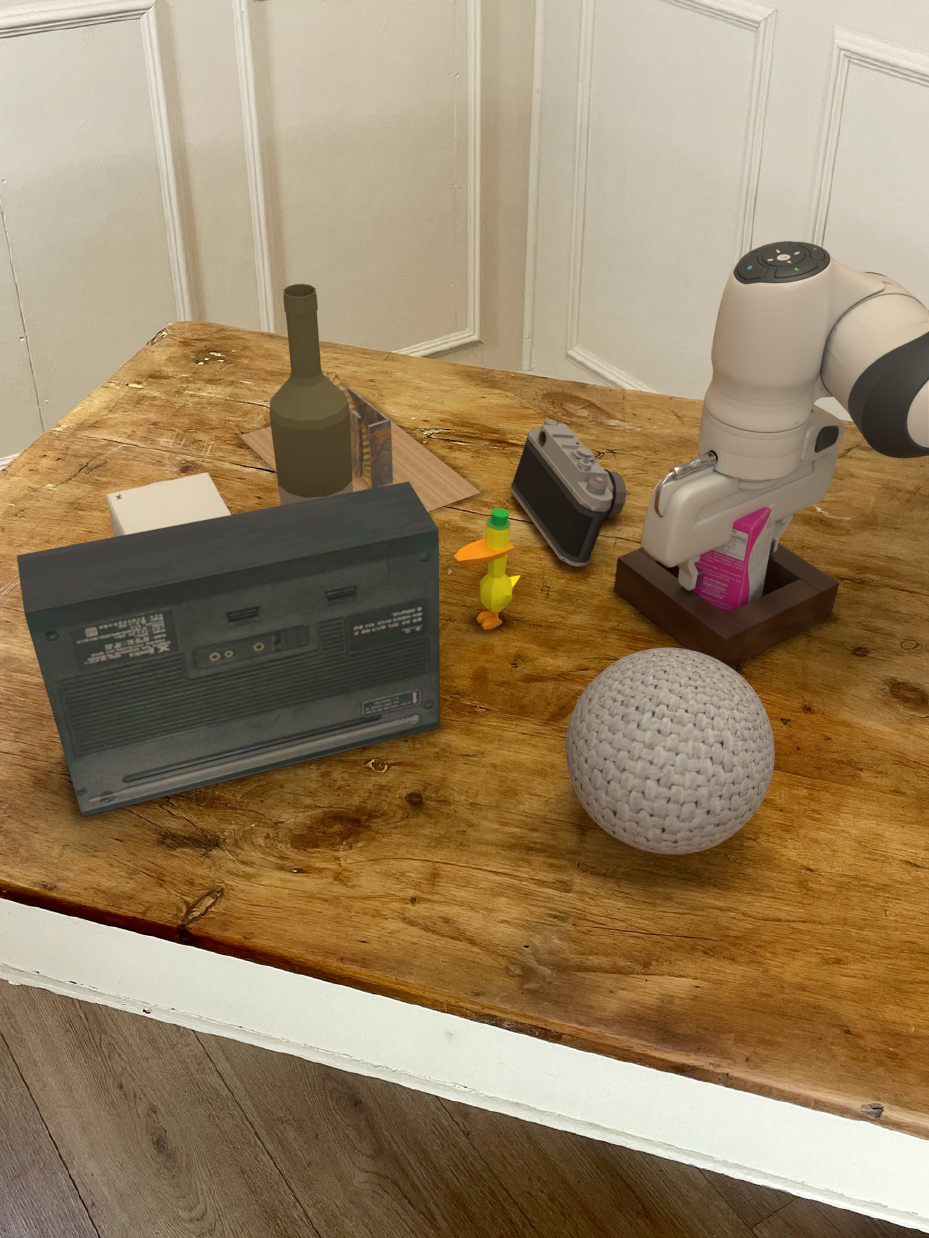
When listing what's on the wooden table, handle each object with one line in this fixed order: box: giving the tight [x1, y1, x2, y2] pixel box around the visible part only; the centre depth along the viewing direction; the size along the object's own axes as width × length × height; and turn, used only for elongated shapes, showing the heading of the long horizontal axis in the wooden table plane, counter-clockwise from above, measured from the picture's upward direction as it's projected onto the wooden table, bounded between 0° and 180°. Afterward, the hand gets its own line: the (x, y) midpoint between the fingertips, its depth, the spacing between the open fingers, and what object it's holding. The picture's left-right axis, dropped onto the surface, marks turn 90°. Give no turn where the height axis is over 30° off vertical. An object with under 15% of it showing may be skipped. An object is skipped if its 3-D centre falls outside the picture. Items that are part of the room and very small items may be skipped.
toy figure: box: [453, 507, 522, 631], centre depth 107 cm, size 7×4×12 cm, turn 119°
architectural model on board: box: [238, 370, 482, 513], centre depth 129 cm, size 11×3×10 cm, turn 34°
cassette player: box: [16, 481, 441, 818], centre depth 92 cm, size 29×7×20 cm, turn 110°
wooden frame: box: [613, 542, 840, 668], centre depth 112 cm, size 14×14×4 cm
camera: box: [509, 418, 627, 567], centre depth 121 cm, size 16×9×10 cm, turn 20°
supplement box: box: [692, 503, 776, 614], centre depth 109 cm, size 6×6×12 cm
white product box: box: [105, 472, 232, 537], centre depth 103 cm, size 9×9×15 cm
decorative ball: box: [565, 647, 776, 856], centre depth 87 cm, size 15×15×15 cm
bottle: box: [269, 283, 353, 506], centre depth 105 cm, size 7×7×30 cm
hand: (727, 567), depth 110 cm, fingers open, 8 cm apart
